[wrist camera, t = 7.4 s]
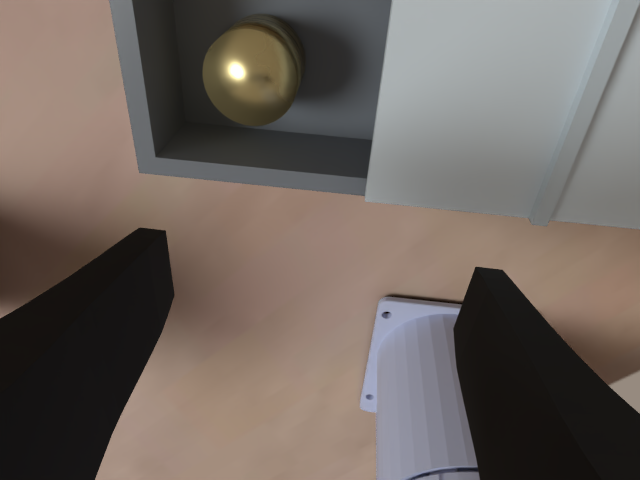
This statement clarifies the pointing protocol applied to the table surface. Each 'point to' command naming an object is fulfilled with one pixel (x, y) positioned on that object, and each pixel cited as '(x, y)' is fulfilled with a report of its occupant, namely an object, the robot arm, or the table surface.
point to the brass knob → (255, 70)
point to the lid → (511, 110)
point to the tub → (242, 140)
